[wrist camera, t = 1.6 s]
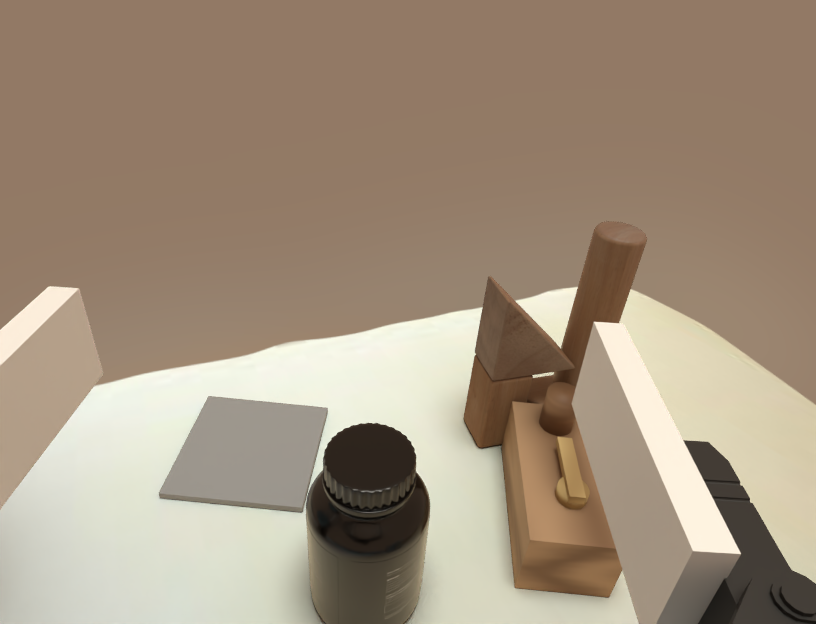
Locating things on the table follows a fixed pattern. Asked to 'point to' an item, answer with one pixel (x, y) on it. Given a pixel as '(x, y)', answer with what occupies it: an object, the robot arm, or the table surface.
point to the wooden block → (545, 334)
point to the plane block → (555, 501)
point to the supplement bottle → (367, 528)
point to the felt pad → (248, 455)
